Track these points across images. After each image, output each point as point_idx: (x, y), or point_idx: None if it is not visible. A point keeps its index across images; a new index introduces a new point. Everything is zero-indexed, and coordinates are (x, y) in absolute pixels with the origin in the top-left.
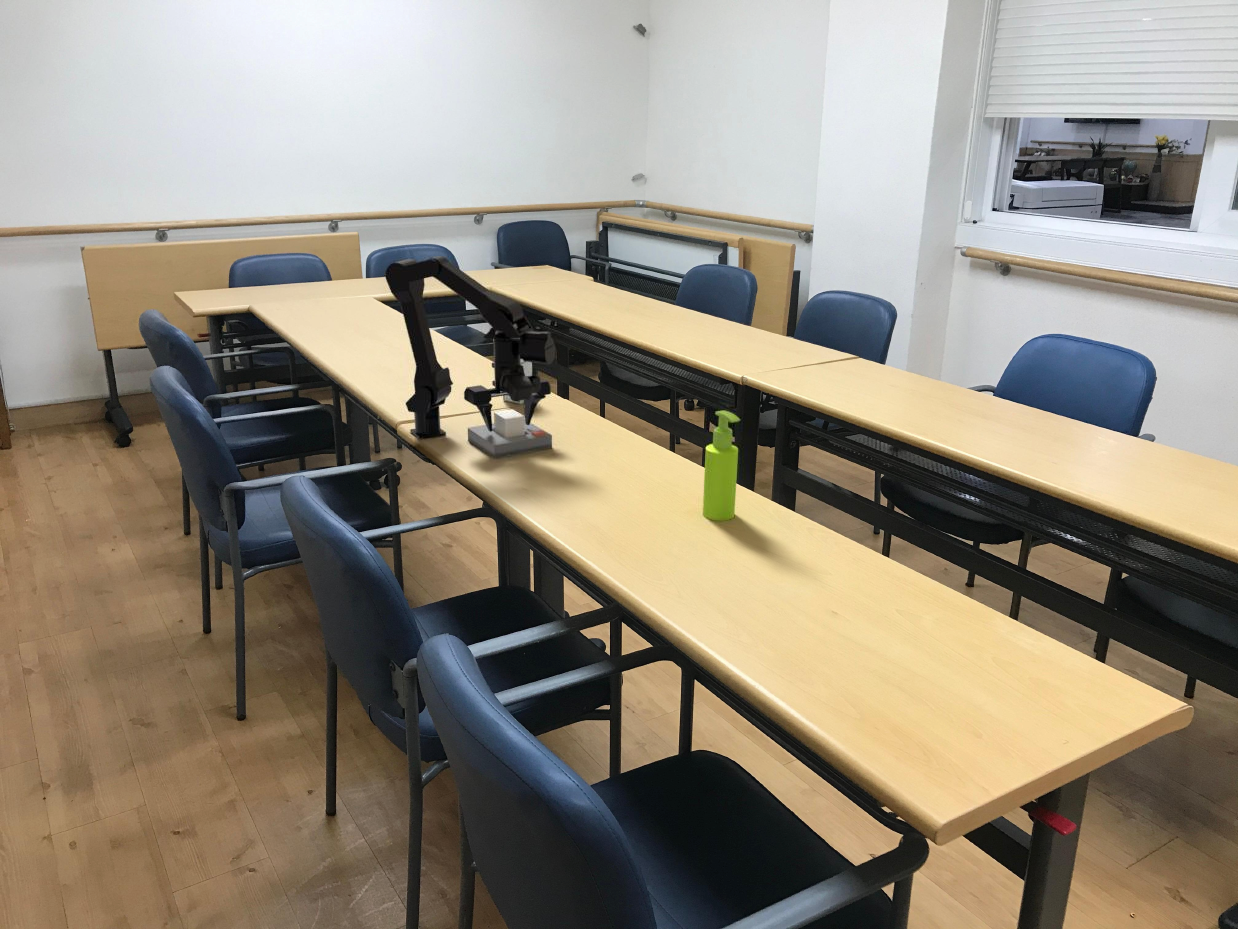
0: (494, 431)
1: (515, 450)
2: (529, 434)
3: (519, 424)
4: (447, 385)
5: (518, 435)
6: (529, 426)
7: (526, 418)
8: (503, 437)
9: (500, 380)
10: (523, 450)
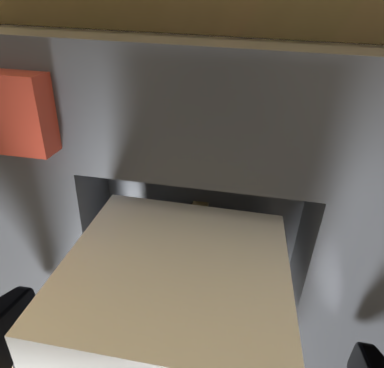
0: None
1: (292, 43)
2: (79, 162)
3: (119, 272)
4: None
5: (164, 207)
6: None
7: (3, 345)
8: None
9: None
10: (215, 38)
